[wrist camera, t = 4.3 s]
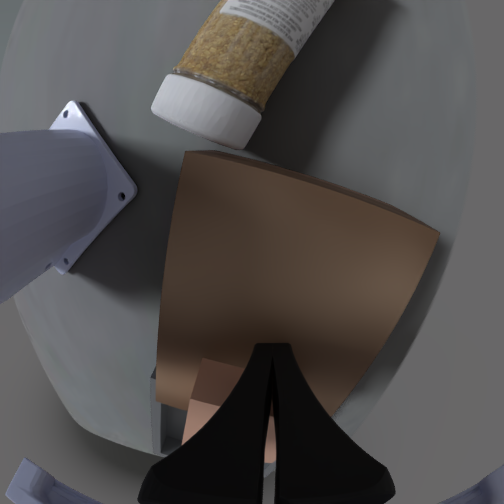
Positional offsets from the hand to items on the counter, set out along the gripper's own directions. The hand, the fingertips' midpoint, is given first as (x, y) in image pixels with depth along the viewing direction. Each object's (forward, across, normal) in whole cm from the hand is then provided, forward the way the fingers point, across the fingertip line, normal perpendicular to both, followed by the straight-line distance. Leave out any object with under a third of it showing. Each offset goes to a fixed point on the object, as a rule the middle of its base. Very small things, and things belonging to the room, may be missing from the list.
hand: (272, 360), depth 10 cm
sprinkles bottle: (+4, -4, -21) cm, 21 cm away
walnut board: (+6, 0, 0) cm, 6 cm away
